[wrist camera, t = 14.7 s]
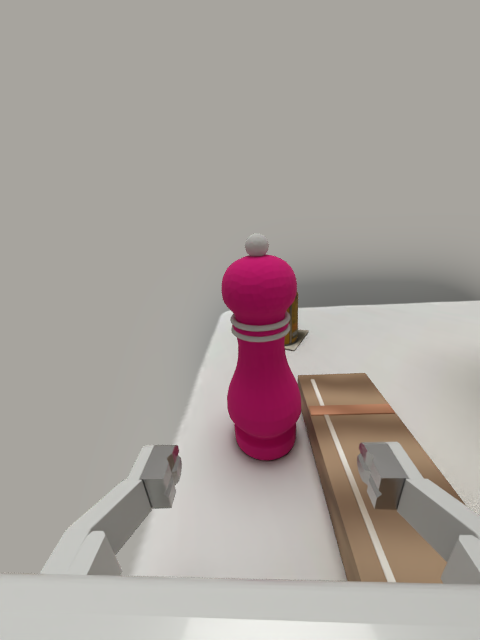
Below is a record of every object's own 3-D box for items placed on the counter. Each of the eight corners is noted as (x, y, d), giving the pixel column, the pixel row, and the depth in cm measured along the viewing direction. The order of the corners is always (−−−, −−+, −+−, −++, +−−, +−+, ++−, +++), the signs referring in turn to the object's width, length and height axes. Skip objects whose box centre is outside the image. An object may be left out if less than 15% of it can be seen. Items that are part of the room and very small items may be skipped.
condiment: (256, 343, 44) (252, 279, 40) (275, 326, 51) (273, 270, 46) (294, 351, 41) (295, 282, 36) (309, 332, 47) (311, 271, 43)
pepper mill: (312, 427, 25) (323, 228, 18) (276, 482, 20) (270, 236, 13) (257, 401, 30) (247, 231, 22) (217, 440, 25) (187, 239, 17)
